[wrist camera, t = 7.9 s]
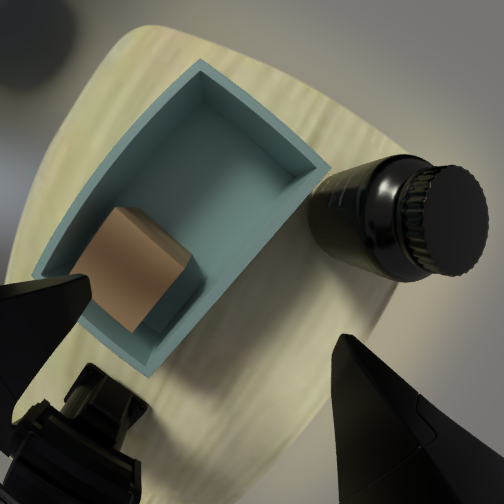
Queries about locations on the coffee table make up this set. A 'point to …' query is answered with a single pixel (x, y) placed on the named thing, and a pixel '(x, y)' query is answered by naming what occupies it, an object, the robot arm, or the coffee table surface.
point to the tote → (189, 202)
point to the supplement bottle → (402, 218)
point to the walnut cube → (131, 264)
